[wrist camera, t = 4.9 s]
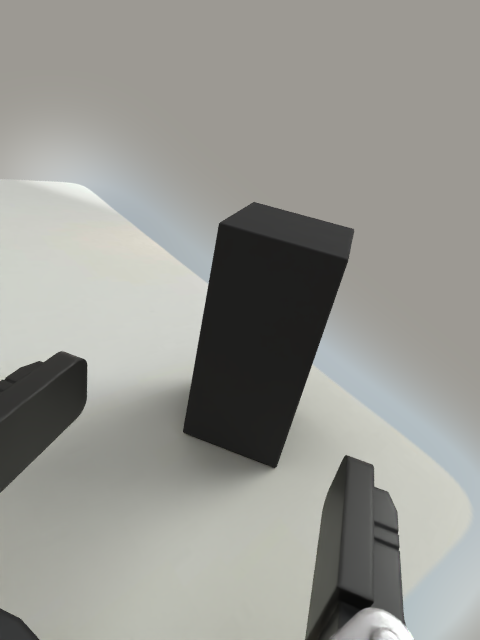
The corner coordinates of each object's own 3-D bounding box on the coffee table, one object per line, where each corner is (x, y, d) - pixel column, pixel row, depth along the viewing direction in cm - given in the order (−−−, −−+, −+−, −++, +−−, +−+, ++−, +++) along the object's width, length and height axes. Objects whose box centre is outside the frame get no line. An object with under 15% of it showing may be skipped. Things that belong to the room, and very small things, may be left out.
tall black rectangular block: (293, 407, 24) (354, 228, 19) (275, 468, 19) (348, 259, 14) (216, 379, 25) (253, 201, 19) (182, 432, 20) (218, 222, 15)
